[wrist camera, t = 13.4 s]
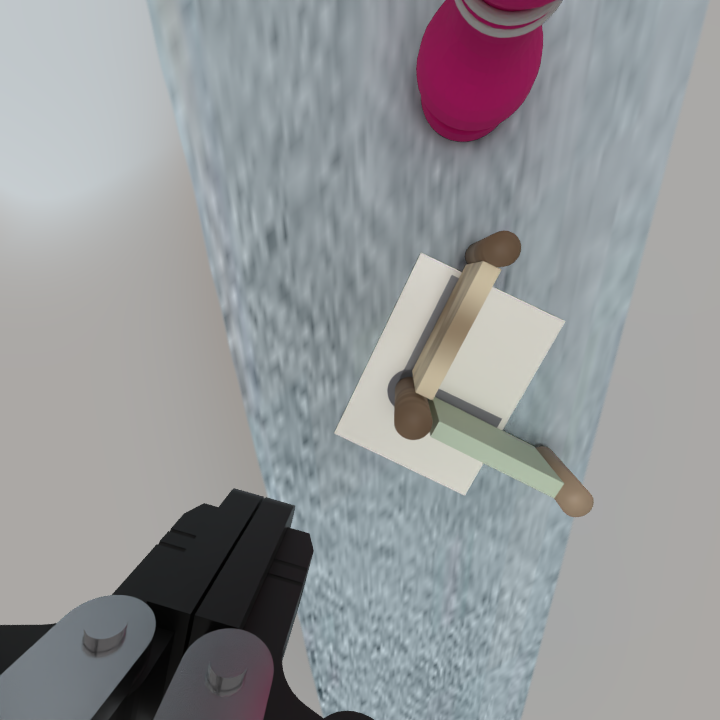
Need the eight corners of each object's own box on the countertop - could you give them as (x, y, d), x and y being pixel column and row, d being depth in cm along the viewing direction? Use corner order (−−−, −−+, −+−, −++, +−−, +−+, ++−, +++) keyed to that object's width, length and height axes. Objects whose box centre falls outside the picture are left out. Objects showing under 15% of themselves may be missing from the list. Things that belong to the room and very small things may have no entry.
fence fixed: (470, 236, 32) (493, 222, 24) (499, 250, 32) (531, 241, 24) (389, 396, 35) (387, 429, 27) (416, 409, 35) (421, 446, 27)
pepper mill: (482, 168, 31) (628, -24, 11) (395, 118, 31) (390, -164, 11) (539, 69, 29) (822, -351, 10) (448, 16, 29) (549, -516, 10)
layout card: (420, 252, 32) (421, 252, 32) (563, 320, 32) (565, 321, 32) (334, 432, 36) (334, 433, 35) (464, 493, 36) (464, 495, 35)
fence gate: (422, 412, 34) (428, 445, 27) (434, 391, 33) (443, 418, 27) (546, 474, 34) (582, 522, 27) (559, 453, 33) (599, 496, 27)
